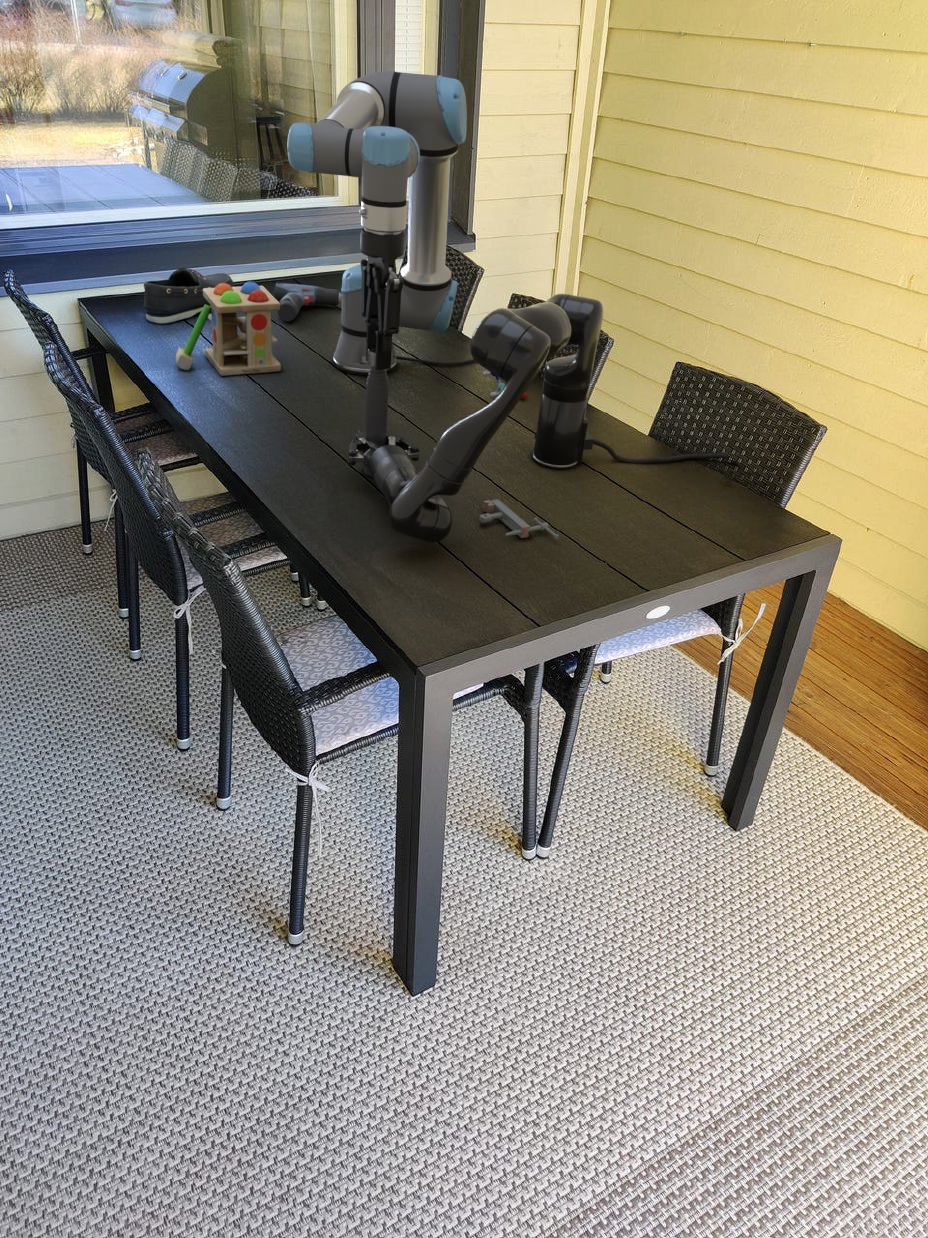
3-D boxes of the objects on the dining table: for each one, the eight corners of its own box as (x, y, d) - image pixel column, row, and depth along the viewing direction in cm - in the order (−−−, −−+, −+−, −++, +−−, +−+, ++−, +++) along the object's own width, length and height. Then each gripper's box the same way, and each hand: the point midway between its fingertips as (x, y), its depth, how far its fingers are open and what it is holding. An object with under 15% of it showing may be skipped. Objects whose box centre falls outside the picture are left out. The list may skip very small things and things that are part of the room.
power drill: (335, 306, 256) (344, 285, 273) (264, 300, 255) (277, 279, 272) (335, 327, 259) (344, 304, 276) (264, 320, 258) (277, 299, 275)
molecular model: (528, 399, 218) (514, 355, 217) (489, 413, 222) (475, 370, 221) (541, 397, 229) (527, 355, 228) (504, 410, 233) (491, 369, 231)
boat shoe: (253, 302, 272) (251, 263, 267) (163, 325, 248) (159, 283, 243) (219, 293, 278) (216, 255, 272) (128, 316, 254) (123, 274, 248)
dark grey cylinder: (387, 470, 192) (393, 352, 178) (380, 478, 188) (385, 359, 175) (368, 466, 192) (372, 348, 179) (360, 474, 189) (363, 355, 176)
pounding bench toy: (183, 379, 220) (176, 299, 210) (169, 357, 231) (162, 280, 221) (282, 371, 230) (280, 294, 220) (264, 350, 240) (262, 276, 230)
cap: (390, 367, 177) (391, 353, 176) (370, 367, 176) (370, 353, 175) (386, 359, 180) (386, 345, 179) (365, 360, 179) (366, 346, 178)
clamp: (469, 503, 178) (515, 494, 182) (468, 513, 179) (514, 504, 184) (513, 542, 167) (561, 531, 172) (512, 553, 169) (559, 542, 173)
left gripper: (343, 218, 170) (341, 350, 183) (382, 243, 158) (377, 382, 171) (383, 217, 173) (379, 347, 186) (424, 241, 161) (416, 378, 174)
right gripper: (434, 452, 176) (408, 414, 189) (356, 457, 171) (335, 418, 185) (431, 489, 180) (406, 450, 193) (355, 495, 176) (335, 454, 189)
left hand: (378, 364), depth 178 cm, fingers closed on cap, 4 cm apart
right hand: (371, 434), depth 189 cm, fingers closed on dark grey cylinder, 4 cm apart
